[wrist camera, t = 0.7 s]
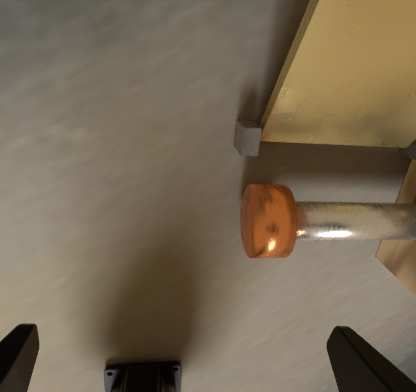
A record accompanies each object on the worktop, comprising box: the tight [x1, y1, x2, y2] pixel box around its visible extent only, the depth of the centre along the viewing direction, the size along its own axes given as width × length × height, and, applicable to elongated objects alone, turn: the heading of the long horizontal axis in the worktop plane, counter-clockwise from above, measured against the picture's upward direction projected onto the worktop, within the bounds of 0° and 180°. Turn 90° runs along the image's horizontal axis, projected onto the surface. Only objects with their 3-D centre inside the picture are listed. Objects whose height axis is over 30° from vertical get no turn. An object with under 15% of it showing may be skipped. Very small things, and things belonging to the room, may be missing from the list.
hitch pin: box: [240, 184, 416, 258], centre depth 19 cm, size 4×13×4 cm, turn 85°
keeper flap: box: [259, 0, 416, 148], centre depth 15 cm, size 11×10×1 cm
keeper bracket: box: [234, 120, 416, 160], centre depth 19 cm, size 2×13×2 cm, turn 85°
